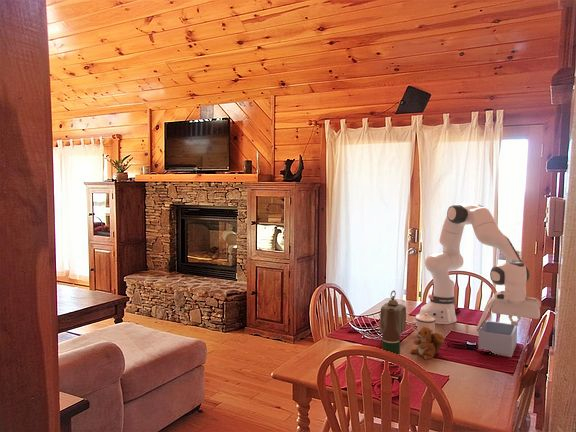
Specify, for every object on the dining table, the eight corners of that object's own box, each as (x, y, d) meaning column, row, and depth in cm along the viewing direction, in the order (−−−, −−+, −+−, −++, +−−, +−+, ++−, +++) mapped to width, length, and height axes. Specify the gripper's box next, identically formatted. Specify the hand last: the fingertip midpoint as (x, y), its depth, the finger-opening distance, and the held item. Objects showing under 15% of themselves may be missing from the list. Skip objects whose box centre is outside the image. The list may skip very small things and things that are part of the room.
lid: (490, 304, 209) (487, 302, 210) (477, 331, 213) (475, 330, 213) (496, 295, 226) (494, 294, 226) (485, 321, 229) (482, 320, 230)
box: (511, 357, 205) (512, 336, 205) (478, 351, 213) (478, 331, 212) (516, 344, 222) (517, 325, 221) (485, 339, 230) (486, 320, 229)
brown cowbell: (389, 334, 238) (389, 287, 236) (406, 337, 233) (407, 288, 232) (379, 342, 226) (380, 292, 224) (397, 345, 221) (398, 294, 219)
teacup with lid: (434, 333, 239) (435, 311, 238) (435, 339, 230) (436, 316, 229) (410, 332, 242) (411, 310, 241) (411, 337, 233) (411, 315, 232)
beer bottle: (396, 368, 193) (397, 312, 191) (378, 365, 197) (379, 310, 196) (402, 362, 199) (402, 308, 198) (385, 359, 204) (385, 306, 202)
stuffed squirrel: (408, 352, 211) (409, 324, 211) (433, 348, 216) (434, 321, 216) (422, 360, 202) (422, 331, 201) (448, 356, 207) (448, 327, 206)
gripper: (541, 297, 209) (540, 326, 210) (493, 291, 220) (492, 320, 221) (540, 300, 204) (539, 330, 205) (490, 294, 215) (490, 323, 216)
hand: (514, 325), depth 213 cm, fingers closed
